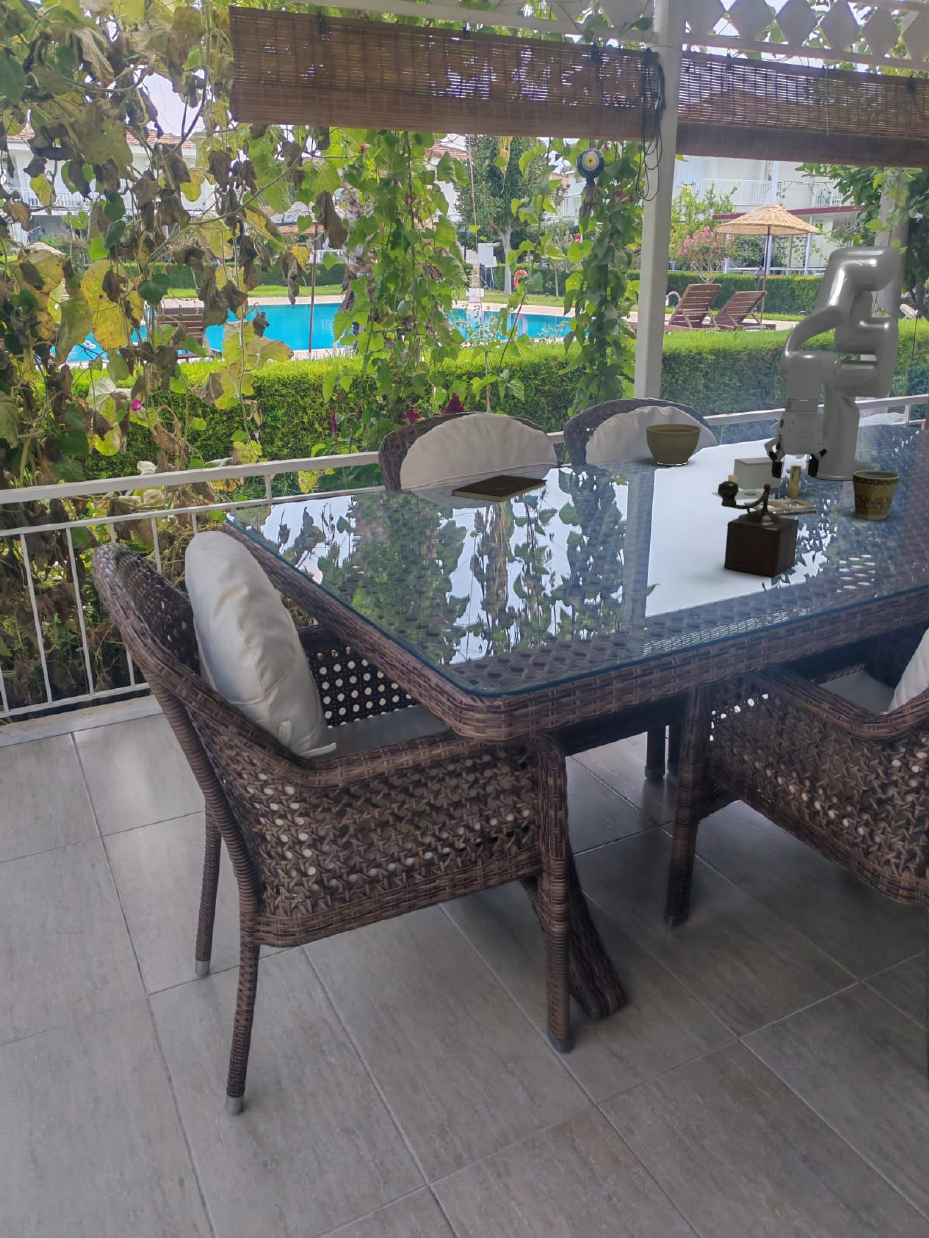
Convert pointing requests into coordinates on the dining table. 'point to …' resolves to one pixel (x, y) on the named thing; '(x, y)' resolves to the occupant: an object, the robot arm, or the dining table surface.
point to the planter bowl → (672, 442)
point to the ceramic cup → (873, 493)
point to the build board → (787, 507)
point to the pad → (743, 494)
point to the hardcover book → (499, 488)
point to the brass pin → (794, 481)
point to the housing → (755, 473)
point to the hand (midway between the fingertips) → (794, 476)
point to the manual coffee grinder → (758, 536)
